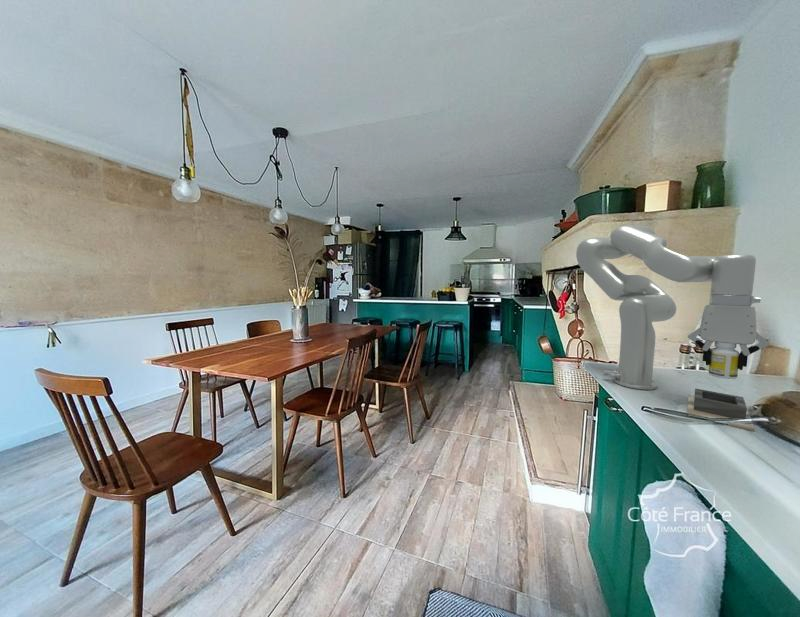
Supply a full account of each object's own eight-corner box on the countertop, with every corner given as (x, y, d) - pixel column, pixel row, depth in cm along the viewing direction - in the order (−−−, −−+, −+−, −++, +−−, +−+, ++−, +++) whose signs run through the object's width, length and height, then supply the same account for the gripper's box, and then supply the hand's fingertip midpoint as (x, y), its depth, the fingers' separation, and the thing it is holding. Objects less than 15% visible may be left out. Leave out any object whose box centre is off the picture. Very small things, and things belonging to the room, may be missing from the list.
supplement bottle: (733, 375, 82) (736, 340, 81) (740, 381, 78) (744, 344, 77) (705, 372, 85) (708, 338, 84) (711, 377, 81) (714, 342, 80)
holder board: (754, 431, 73) (756, 414, 73) (686, 415, 82) (688, 400, 81) (746, 410, 84) (748, 394, 84) (688, 398, 93) (689, 384, 92)
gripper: (778, 301, 76) (770, 369, 78) (686, 298, 88) (681, 358, 90) (784, 303, 71) (775, 376, 73) (685, 300, 83) (679, 363, 85)
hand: (723, 365), depth 81 cm, fingers closed on supplement bottle, 5 cm apart
